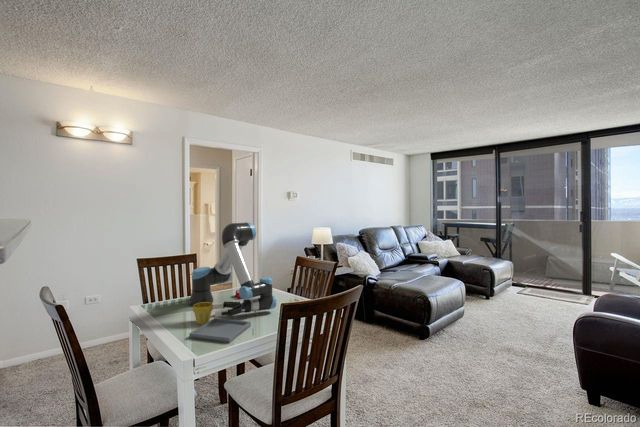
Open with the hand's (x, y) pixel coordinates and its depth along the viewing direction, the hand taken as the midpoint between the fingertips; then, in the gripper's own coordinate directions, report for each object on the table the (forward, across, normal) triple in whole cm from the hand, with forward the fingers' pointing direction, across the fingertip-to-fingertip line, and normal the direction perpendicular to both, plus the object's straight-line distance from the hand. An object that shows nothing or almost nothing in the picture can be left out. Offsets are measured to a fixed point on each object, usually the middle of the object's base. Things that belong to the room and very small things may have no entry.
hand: (213, 310), depth 180 cm
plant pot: (+6, +1, -6) cm, 8 cm away
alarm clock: (-25, +40, -6) cm, 48 cm away
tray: (-2, -19, -6) cm, 20 cm away
